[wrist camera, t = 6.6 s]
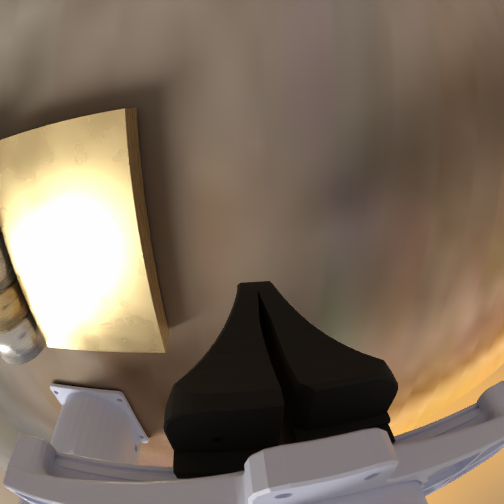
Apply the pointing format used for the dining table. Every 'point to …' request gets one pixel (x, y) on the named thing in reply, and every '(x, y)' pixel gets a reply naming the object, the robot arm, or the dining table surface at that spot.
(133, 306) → the plate
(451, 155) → the dining table surface
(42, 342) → the steel leaf
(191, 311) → the dining table surface
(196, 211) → the dining table surface
